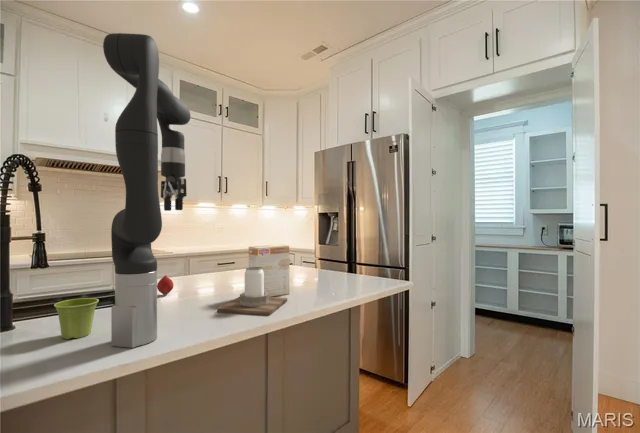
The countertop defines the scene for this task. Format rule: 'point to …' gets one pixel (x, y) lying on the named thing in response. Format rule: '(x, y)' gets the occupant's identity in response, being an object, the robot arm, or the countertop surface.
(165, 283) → the onion
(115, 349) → the countertop surface
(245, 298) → the board
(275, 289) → the coffeecake box
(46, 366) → the countertop surface
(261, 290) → the can
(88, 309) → the plant pot
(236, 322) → the countertop surface
